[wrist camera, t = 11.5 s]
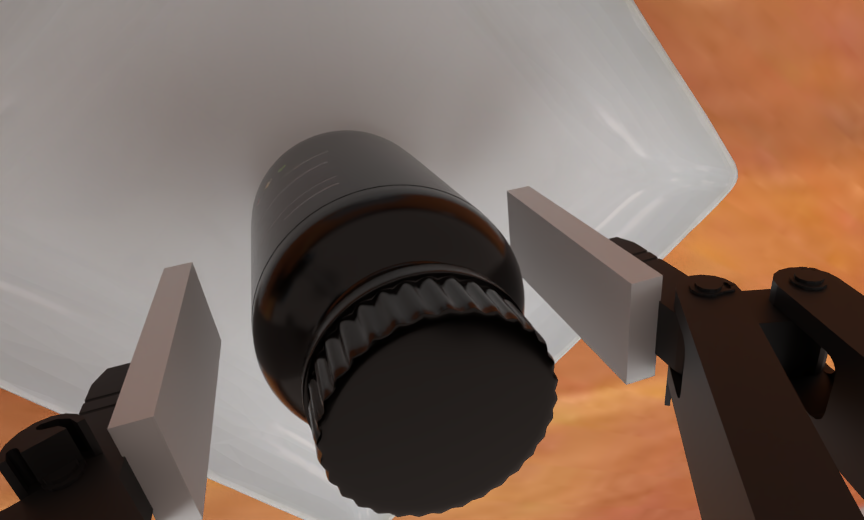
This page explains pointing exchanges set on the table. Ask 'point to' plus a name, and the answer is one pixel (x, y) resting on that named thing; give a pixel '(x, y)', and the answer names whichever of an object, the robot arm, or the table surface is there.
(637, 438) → the table surface
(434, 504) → the supplement bottle
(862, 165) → the table surface
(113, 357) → the square plate
